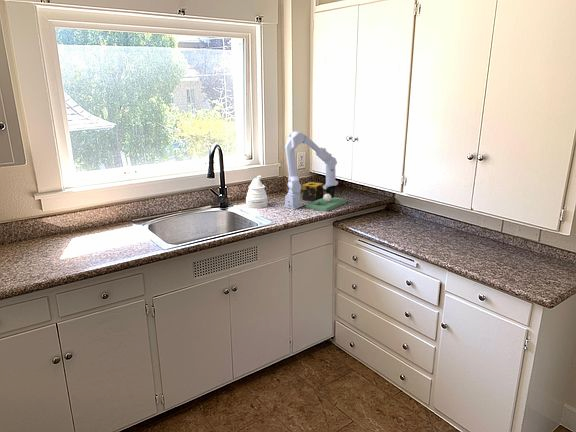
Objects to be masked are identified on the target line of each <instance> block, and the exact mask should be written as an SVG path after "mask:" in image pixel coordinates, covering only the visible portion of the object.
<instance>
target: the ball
mask: <svg viewBox="0 0 576 432" xmlns="http://www.w3.org/2000/svg"><path fill="white" fill-rule="evenodd" d="M323 199H324V201H325V202H329V201H331V195H330V194H327V193H325V194H323Z"/></svg>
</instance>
